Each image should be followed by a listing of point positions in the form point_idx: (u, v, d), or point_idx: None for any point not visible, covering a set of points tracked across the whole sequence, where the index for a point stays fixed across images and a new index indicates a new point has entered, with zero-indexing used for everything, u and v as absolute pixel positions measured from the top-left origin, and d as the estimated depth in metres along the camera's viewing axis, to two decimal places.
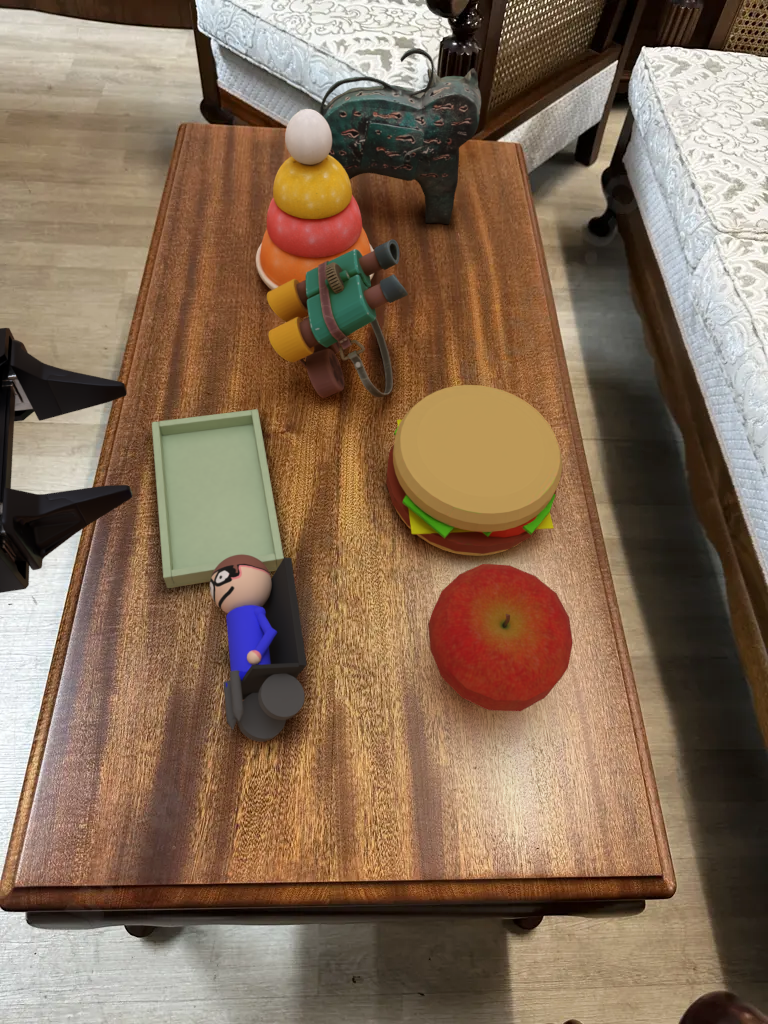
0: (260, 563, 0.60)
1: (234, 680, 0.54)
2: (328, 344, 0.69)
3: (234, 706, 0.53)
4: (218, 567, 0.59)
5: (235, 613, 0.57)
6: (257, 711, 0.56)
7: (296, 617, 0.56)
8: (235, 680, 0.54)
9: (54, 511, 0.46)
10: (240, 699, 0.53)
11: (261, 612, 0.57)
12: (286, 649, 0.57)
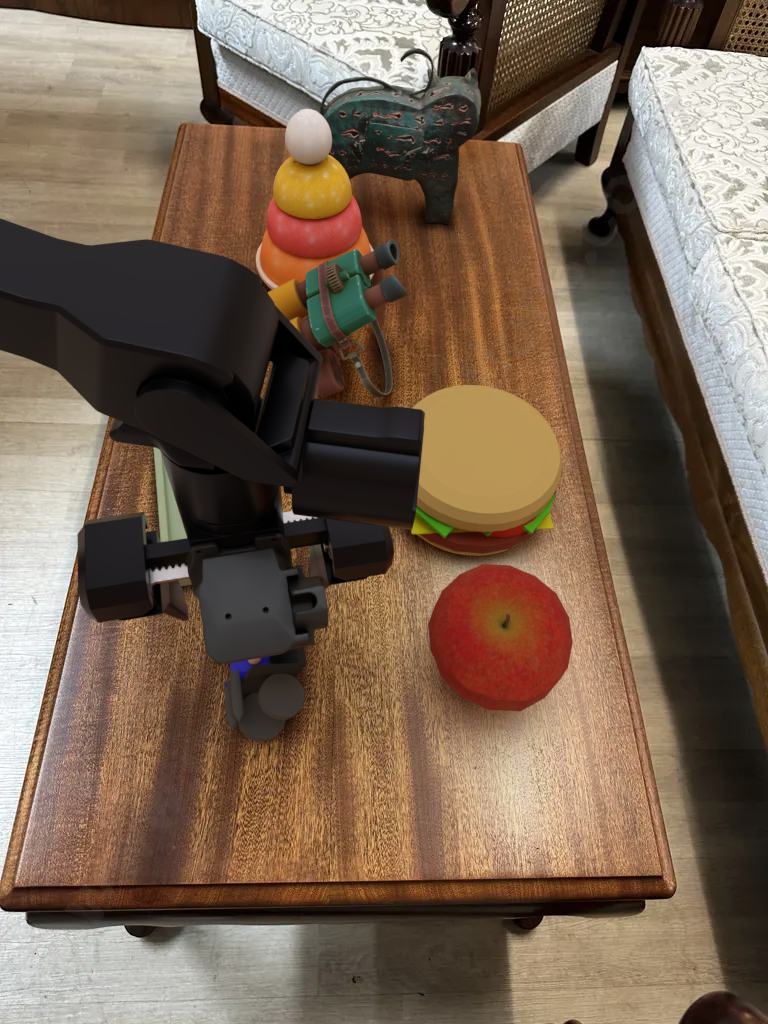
0: None
1: (234, 680, 0.54)
2: (328, 344, 0.69)
3: (234, 706, 0.53)
4: None
5: None
6: (257, 711, 0.56)
7: None
8: (235, 680, 0.54)
9: None
10: (240, 699, 0.53)
11: None
12: None
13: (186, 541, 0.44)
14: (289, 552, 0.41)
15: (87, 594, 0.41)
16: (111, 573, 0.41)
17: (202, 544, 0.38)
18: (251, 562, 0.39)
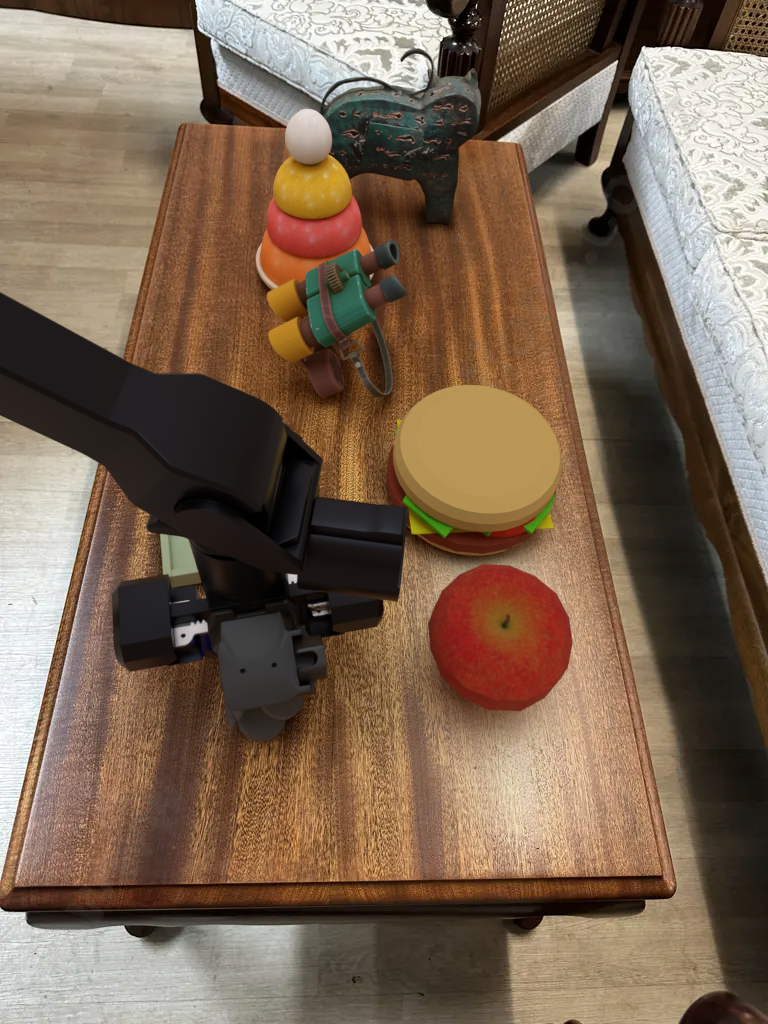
0: None
1: None
2: (328, 344, 0.69)
3: None
4: None
5: None
6: (257, 711, 0.56)
7: (296, 617, 0.56)
8: None
9: None
10: None
11: None
12: None
13: (205, 601, 0.51)
14: (294, 614, 0.48)
15: (121, 649, 0.48)
16: (142, 630, 0.49)
17: (220, 610, 0.45)
18: (262, 624, 0.46)
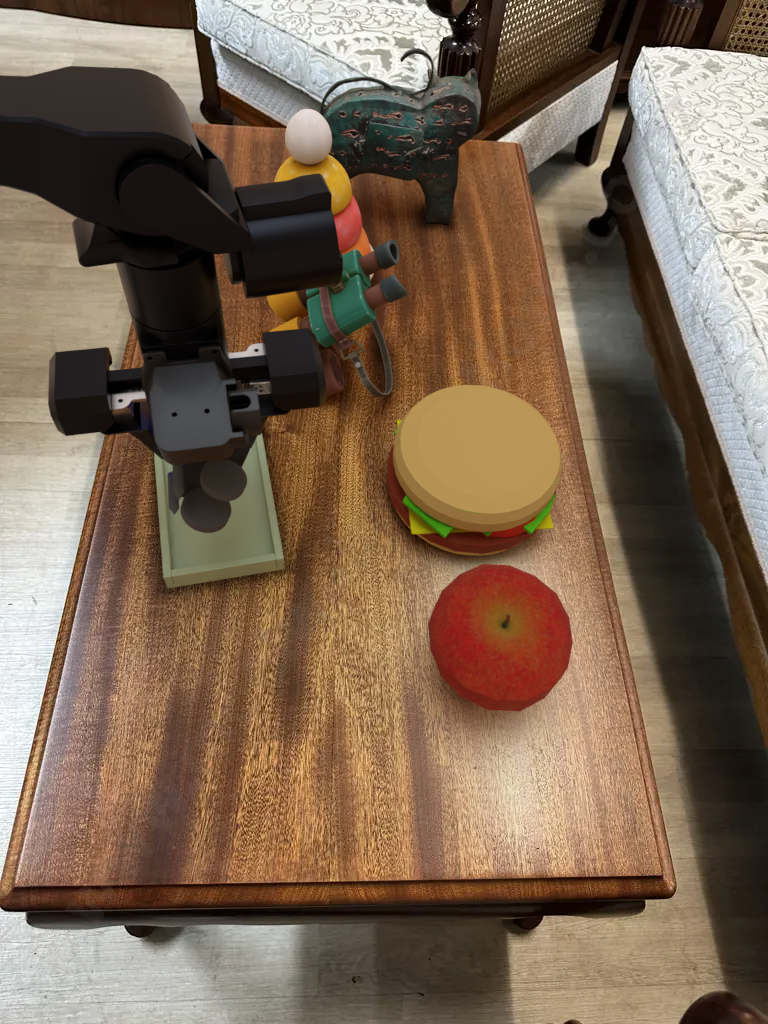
0: None
1: None
2: (328, 344, 0.69)
3: (175, 485, 0.52)
4: None
5: None
6: (201, 503, 0.56)
7: None
8: None
9: None
10: (181, 479, 0.53)
11: None
12: None
13: None
14: (230, 369, 0.47)
15: (55, 404, 0.48)
16: (77, 388, 0.48)
17: (152, 351, 0.45)
18: (195, 372, 0.46)
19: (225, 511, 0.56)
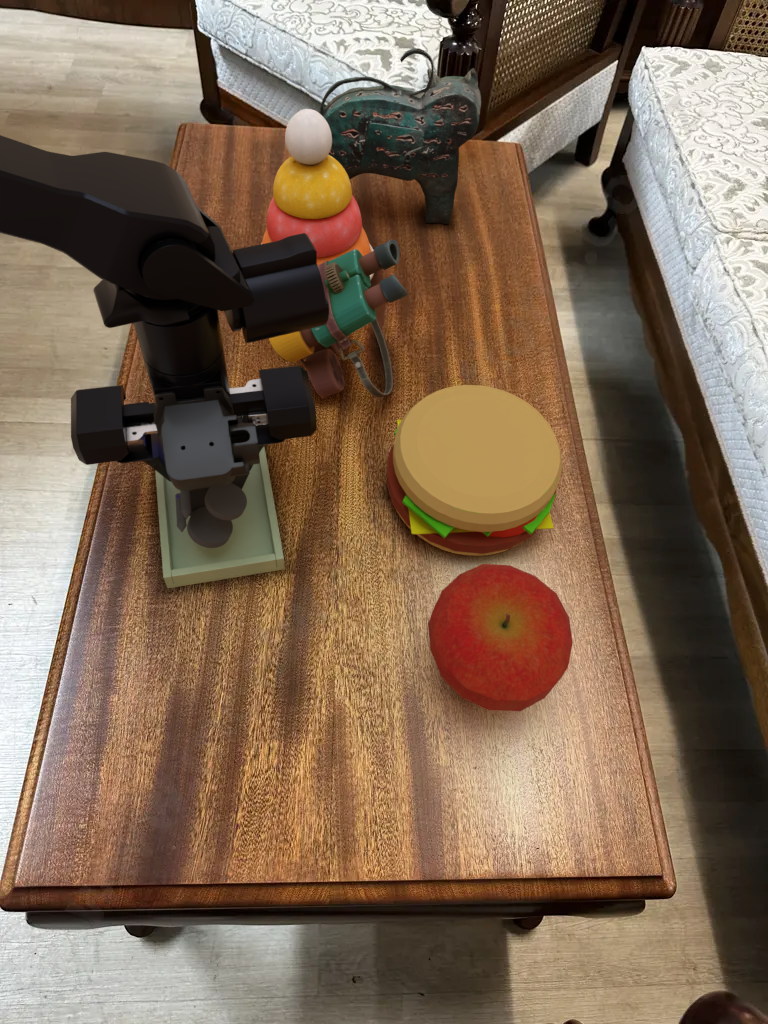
0: None
1: None
2: (328, 344, 0.69)
3: (182, 506, 0.59)
4: None
5: None
6: (205, 521, 0.62)
7: None
8: None
9: (143, 460, 0.60)
10: (188, 501, 0.59)
11: None
12: None
13: None
14: (231, 406, 0.54)
15: (77, 437, 0.54)
16: (96, 423, 0.54)
17: (163, 392, 0.51)
18: (201, 409, 0.52)
19: (227, 528, 0.62)
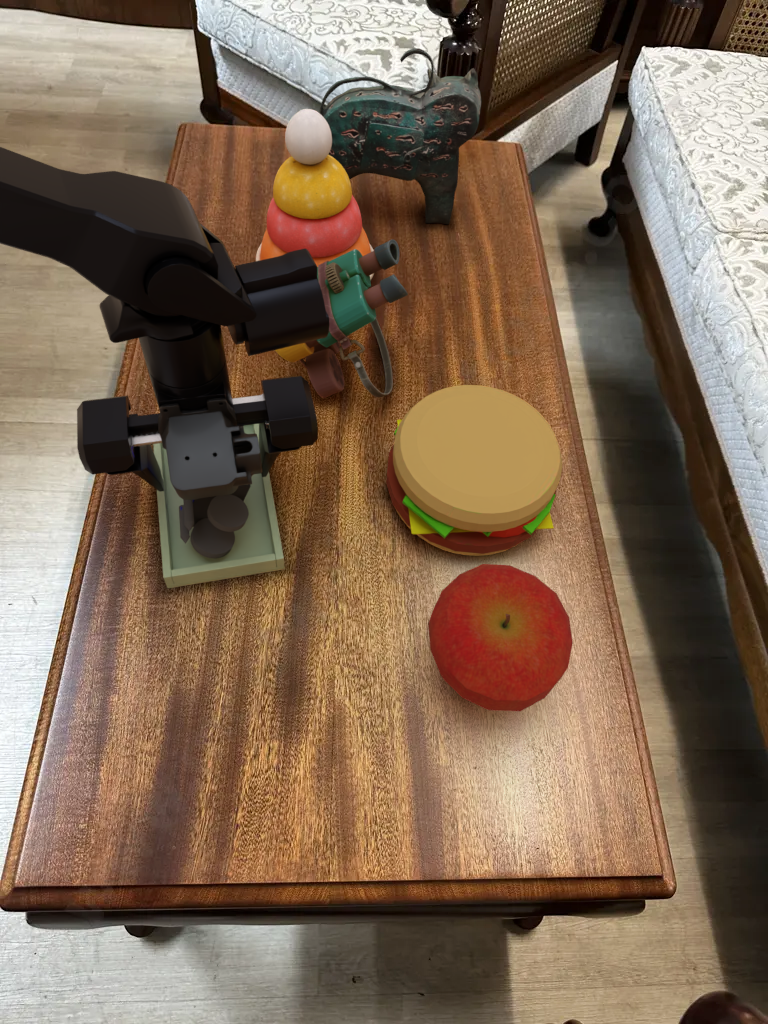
0: None
1: None
2: (328, 344, 0.69)
3: (186, 518, 0.60)
4: None
5: None
6: (208, 532, 0.63)
7: None
8: None
9: (133, 471, 0.61)
10: (191, 513, 0.61)
11: None
12: None
13: (159, 415, 0.58)
14: (234, 417, 0.55)
15: (84, 448, 0.55)
16: (102, 434, 0.56)
17: (167, 404, 0.52)
18: (204, 420, 0.54)
19: (229, 539, 0.64)
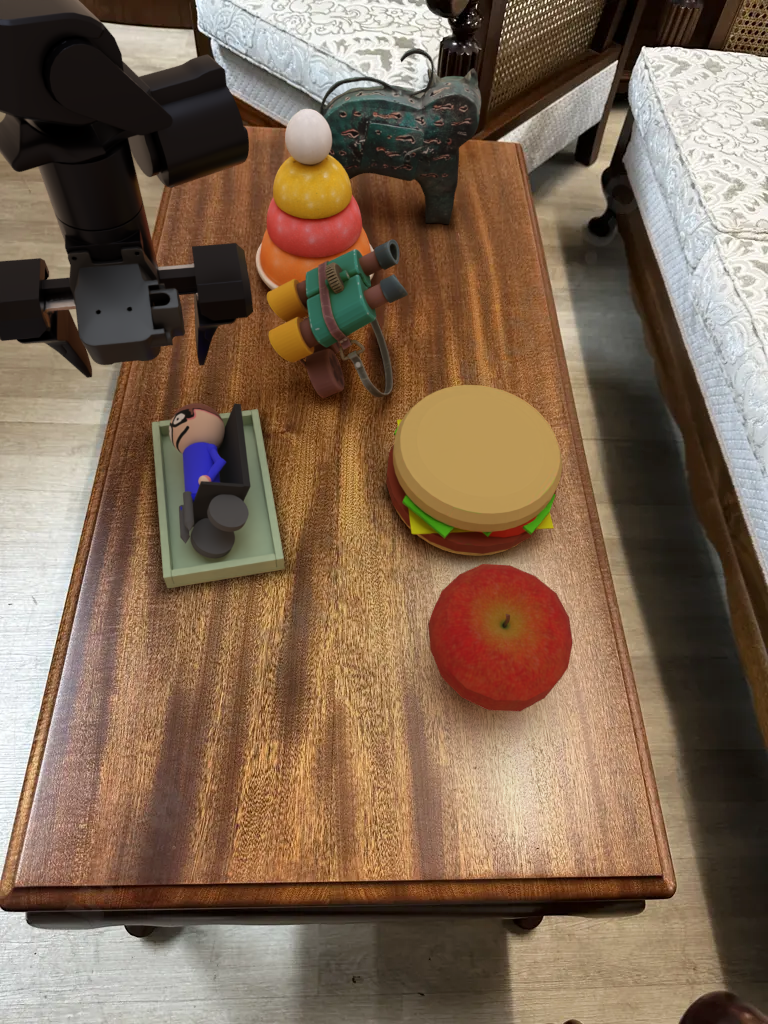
0: (213, 410, 0.67)
1: (186, 499, 0.61)
2: (328, 344, 0.69)
3: (186, 518, 0.60)
4: (176, 412, 0.66)
5: (190, 448, 0.65)
6: (208, 532, 0.63)
7: (243, 449, 0.64)
8: (187, 498, 0.61)
9: None
10: (191, 513, 0.61)
11: (213, 447, 0.65)
12: (234, 479, 0.64)
13: None
14: (154, 273, 0.50)
15: None
16: (10, 293, 0.51)
17: (76, 252, 0.48)
18: (119, 273, 0.49)
19: (229, 539, 0.64)
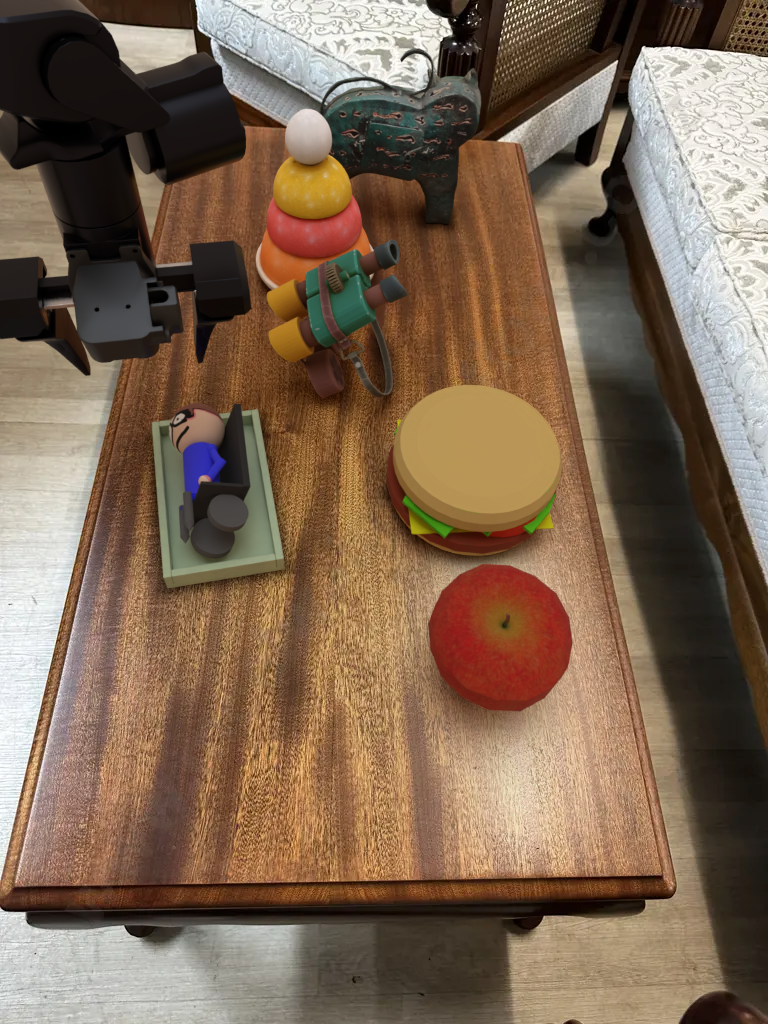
0: (213, 410, 0.67)
1: (186, 499, 0.61)
2: (328, 344, 0.69)
3: (186, 518, 0.60)
4: (176, 412, 0.66)
5: (190, 448, 0.65)
6: (208, 532, 0.63)
7: (243, 449, 0.64)
8: (187, 498, 0.61)
9: (51, 345, 0.56)
10: (191, 513, 0.61)
11: (213, 447, 0.65)
12: (234, 479, 0.64)
13: None
14: (152, 271, 0.50)
15: None
16: (9, 292, 0.51)
17: (75, 249, 0.48)
18: (117, 270, 0.49)
19: (229, 539, 0.64)
